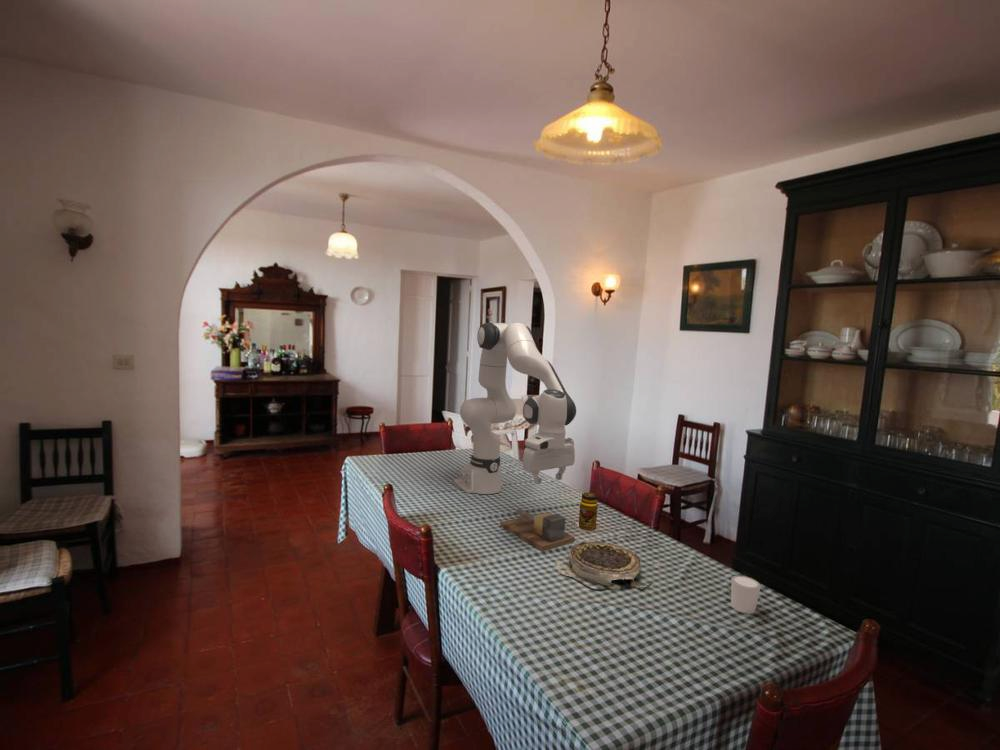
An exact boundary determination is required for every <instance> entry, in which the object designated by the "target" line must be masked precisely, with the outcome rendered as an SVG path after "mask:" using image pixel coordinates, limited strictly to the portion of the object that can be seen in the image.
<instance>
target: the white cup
mask: <svg viewBox="0 0 1000 750" xmlns="http://www.w3.org/2000/svg"><path fill="white" fill-rule="evenodd" d="M730 579H731V582H730V583H731V586H730V587H731V591H730V592H731V593H730V596H731V597H730V599H731V600H730V602H731V603H730V605H731V607H732V608H733V609H734V610H735V611H738V612H740V613H743V614H747V615H750V614H754V613H756V610H757V609H756V608H757V605H758V600H759V597H760V596H759V595H760V591H761V585H762V584H760V582H759V581H757V580H755V579H754V578H752V577H749V576H744V575H734V576H732V577H731V578H730Z"/></svg>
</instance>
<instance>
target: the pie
mask: <svg viewBox="0 0 1000 750" xmlns="http://www.w3.org/2000/svg"><path fill="white" fill-rule="evenodd" d="M558 558H559V559H560V560H561V559H562V556H561V555H560V556H559V557H558ZM568 559H569V561H570V563H571V564H569V565H568V566H562V565H563V563H562V562H556V568H559V569H557V571H558V572H559V573H560V574H561V575H563V576H566V577H571V578H573V579H575V580H577V581H579V582H580V580H578V578H576V577H580V578H581V579H584V580H586V581H589V582H592V583H596V584H601V585H604V586H607V587H605V589H609V590H621V588H622V587H621V585H619V584H616V583H613V582H612V581H615V580H616V581H617V580H619V581H620V580H623V581H624V580H630V581H629V583H630V587H633V588H635V589H640V590H644V589H647V588H648V587H649V586H651V585H652V582H650V583H649V584H646V587H644V586H641V585H637V584H636V583H635V580H634V579H635V578H636V577H637V576H638V574H639V573H640V570H641V568H642V564H641V561H642V559H641V558H640V556H639V555H638V553H637V552H634V551H632V550H631V549H627V548H624V547H622V546H620V545H618V544H614V543H610V542H606V541H591V540H590V541H588V542H587V541H582V542H579V543H578V542H577V543H576V544H574V545H572V547H571V548H570V549H569V552H568ZM560 569H563V570H566V569H567V570H566V573H567V574H565V573H563V572H562V571H561V570H560ZM583 584H584V585H585V586H586V587H588V588H591V589H592V587H590V586H589V585H588V584H587V583H586V582H585V583H584V582H583ZM595 590H600V591H602V590H603V588H601V589H600V588H599V589H598V588H597V589H596V588H595Z"/></svg>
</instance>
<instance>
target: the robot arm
mask: <svg viewBox="0 0 1000 750" xmlns="http://www.w3.org/2000/svg"><path fill="white" fill-rule="evenodd" d="M476 340H477V343H478V345H479V347H480V348H481V354H480V360H479V369H478V370H479V371H478V378H477V379H478V383H479V384H480V386H481V387H482V388H483V389H485V390H486V393H487V397H474V398H471V399H470V398H469V399H468V400H464V401H463V402H462V404H461V406H460V409H459V410H460V411H459V415H460V418H461V420H462V421H463V422H464V423H465V424H466V425H467V427H469V430H470V431H471V434H472V438H473V445H472V446H473V448H472V451H473V452H472V454H471V455H469V457H468V459H470V461H469V463H468V464H467V465H465V466H464V467H462V468H461V470H460V473H459V477H457V478H456V479H455V478H454V480H453V483H454V484H456V486H458V487H459V488H460V489H461V490H463V491H464V492H465V493H468V494H469V493H470V494H478V495H479V494H480V495H493V494H498V493H500V492H501V491H502V488H503V486H504V484H503V483H502V469H501V467H500V465H501V456H500V453H501V452H500V451H501V450H500V449H501V439H500V437H499V436H498V434H496V433H494V431H492V428H491V427H492V426H491V425H493V424H502V423H505V422H509V421H511V420H514V418H515V416H516V414H517V405H516V403H515V401H514V400H513V399H512V398H511V397H510V395H509V393H508V389H507V386H506V384H507V383H506V382H507V381H506V378H507V365H508V363H509V364H510V366H511V368H512V369H514V370H515V371H516V372H518V373H520V374H522V375H523V374H524V375H527V376H531V377H532V378H535V379H538V380H539V381H541V382H542V383H543V384H544V386H545V388H546V389H545V390H543V391H541V392H542V393H541V394H538V395H535V396H530V397H528V398H527V399H526V401H525V402H524V404H523V408H522V415H523V419H525V421H526V422H528V424H530V425H535V426H537V425H538V430H537V433H535V434H534V435H532V436H530V437H528V438H525V441H524V445H525V446H526V447H525V448H524V450H523V456H522V469H523V470H524V471H526V472H528V473H531V475H532V477H533V483H534V484H535V485H540V484H541V483H542V478H541V477H539V474H540V472H542V471H547V470H553V469H558V471H557V473H555V477H554V478H555V480H557V481H561V480H563V475H564V474H565V471H566V470H567V469H566V468H567V467H571V466H574V464H575V459H576V455H575V453H576V450H575V449H576V448H575V442H574V439H573V438H571V437H567V438H566V426H568V425H569V424H571V423H572V422H573V421H574V419H575V417H576V415H577V407H576V404H575V402H574V400H573V399H572V397H571V396H570V395H569V394H568V391H566V389H565V387H564V385H563V383H562V381H561V379H560V377H559V375H558V373H557V372H556V370H555V368H554V366H553V364H552V363H551V362H550V361H549V360H548V359H546V358H545V357H544V356H543V354H541V352H540V351H539V350H538V347H537V345H536V342H535V340H534V339H533V333H532V331H531V328H530V327H529V326H527V325H525V324H524V323H522V322H512V323H511V322H493V323H492V322H485V323H483V324H481V325H480V326H479V327H478V330H477V339H476Z"/></svg>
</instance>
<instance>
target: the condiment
mask: <svg viewBox="0 0 1000 750" xmlns="http://www.w3.org/2000/svg"><path fill="white" fill-rule="evenodd" d="M598 505H599V504H598V496H597V494H595V493H593V492H584V493H582V494H581V500H580V503H579V514H578V522H579V528H580V529H579V528H578V529H579V530H580V531H581V532H582V533H584V532H585V533H586V532H588V533H589V532H597V531H601V528H599V527H598V528H596V526H597V518H598V517H597V516H598ZM574 522H575V524H574ZM576 522H577V521H573V523H572V524H573V525H574V526H575V527H577V526H576V525H577V524H576ZM581 529H582V530H581ZM596 529H597V530H596Z"/></svg>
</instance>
